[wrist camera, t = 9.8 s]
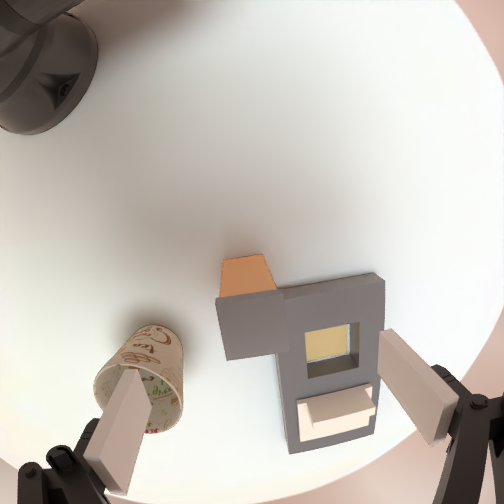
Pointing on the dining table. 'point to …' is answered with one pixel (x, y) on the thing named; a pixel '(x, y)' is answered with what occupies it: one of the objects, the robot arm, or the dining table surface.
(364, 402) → the panel
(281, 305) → the plug
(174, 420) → the mug
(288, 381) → the socket
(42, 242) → the dining table surface
